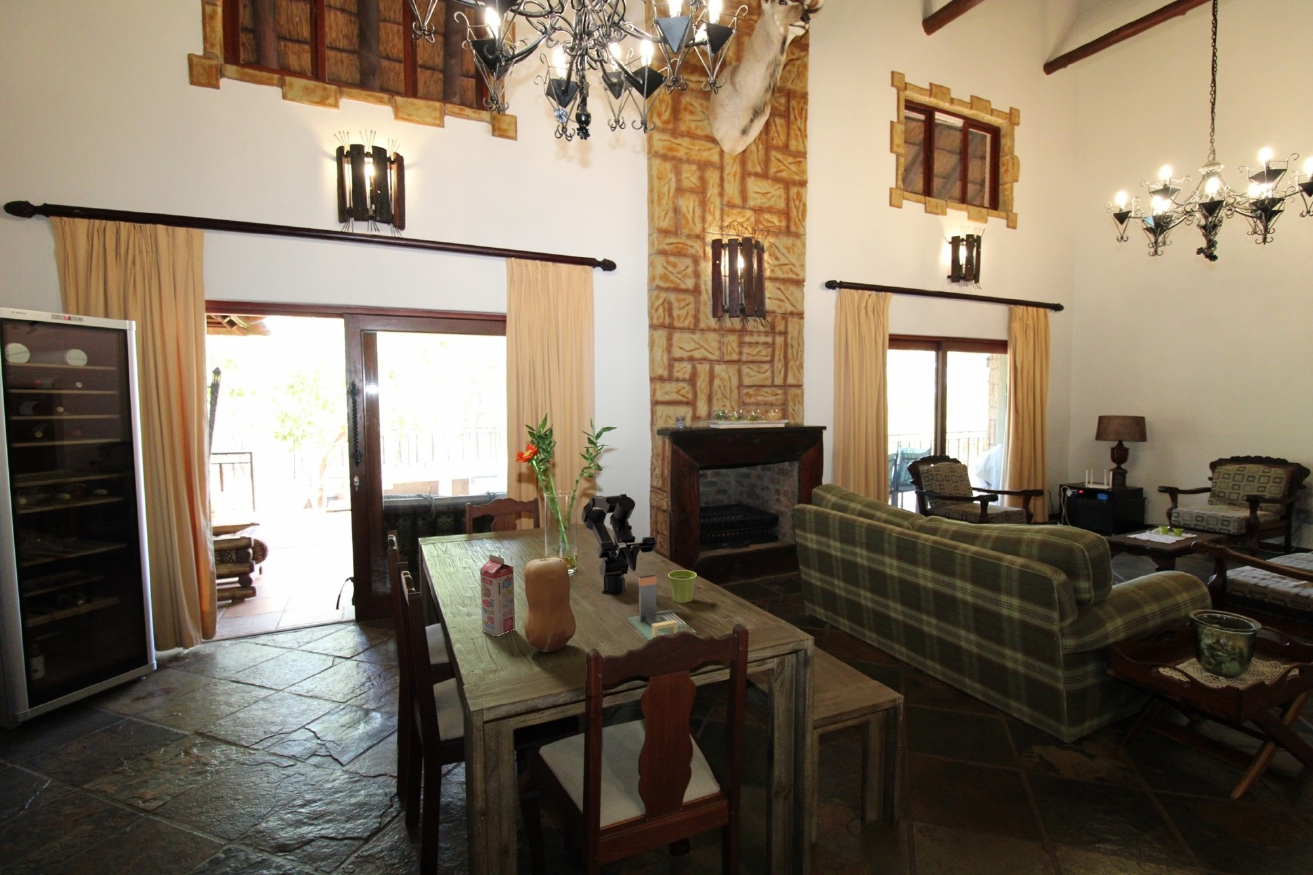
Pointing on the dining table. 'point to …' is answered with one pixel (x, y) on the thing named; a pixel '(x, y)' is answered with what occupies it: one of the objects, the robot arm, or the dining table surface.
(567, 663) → the dining table surface
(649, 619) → the orange-rimmed grey tower
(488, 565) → the juice carton
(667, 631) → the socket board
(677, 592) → the plant pot
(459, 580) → the dining table surface
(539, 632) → the butternut squash
